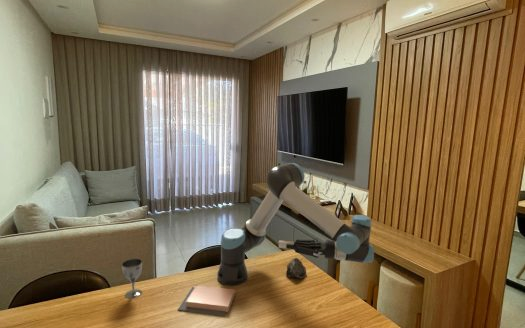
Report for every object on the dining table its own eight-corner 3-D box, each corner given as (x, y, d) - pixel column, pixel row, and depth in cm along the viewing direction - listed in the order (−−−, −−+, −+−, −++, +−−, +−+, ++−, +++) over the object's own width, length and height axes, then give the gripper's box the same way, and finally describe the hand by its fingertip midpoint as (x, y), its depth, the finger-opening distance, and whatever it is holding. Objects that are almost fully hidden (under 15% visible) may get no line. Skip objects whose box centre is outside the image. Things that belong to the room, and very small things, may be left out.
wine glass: (147, 290, 134) (145, 260, 131) (134, 301, 126) (132, 268, 124) (133, 287, 136) (131, 257, 134) (119, 296, 129) (117, 265, 126)
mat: (192, 288, 137) (192, 287, 137) (234, 292, 134) (234, 291, 134) (177, 310, 121) (177, 309, 121) (224, 316, 119) (224, 315, 118)
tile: (234, 294, 132) (196, 290, 134) (234, 289, 132) (196, 285, 134) (227, 312, 120) (186, 306, 123) (228, 306, 120) (186, 301, 122)
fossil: (305, 281, 144) (296, 263, 144) (288, 286, 147) (280, 269, 146) (307, 269, 155) (299, 253, 154) (292, 274, 157) (284, 258, 157)
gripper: (335, 266, 118) (276, 259, 121) (332, 251, 130) (279, 245, 134) (336, 248, 116) (277, 242, 120) (334, 235, 129) (280, 230, 133)
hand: (278, 244), depth 127 cm, fingers closed
